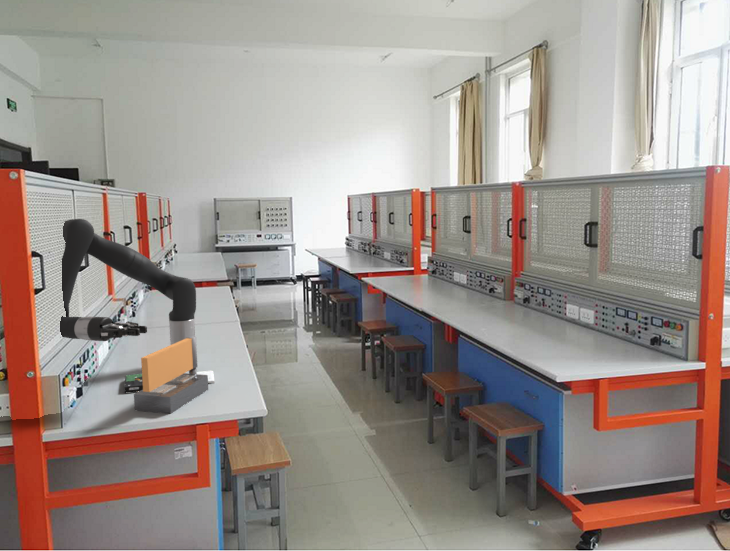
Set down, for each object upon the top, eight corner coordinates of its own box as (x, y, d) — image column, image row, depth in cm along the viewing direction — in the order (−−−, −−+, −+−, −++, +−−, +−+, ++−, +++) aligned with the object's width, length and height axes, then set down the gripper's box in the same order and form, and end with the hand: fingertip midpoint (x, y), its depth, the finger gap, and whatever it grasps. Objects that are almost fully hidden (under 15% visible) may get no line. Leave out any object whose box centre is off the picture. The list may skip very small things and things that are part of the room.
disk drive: (158, 391, 191) (156, 378, 204) (158, 383, 190) (156, 370, 204) (124, 395, 187) (125, 381, 200) (124, 387, 186) (124, 374, 200)
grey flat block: (175, 387, 192) (174, 371, 192) (208, 389, 190) (207, 373, 189) (134, 410, 171) (133, 392, 171) (170, 413, 168) (169, 395, 168)
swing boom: (190, 365, 193) (189, 336, 192) (199, 366, 192) (197, 336, 191) (141, 391, 167) (139, 357, 166) (151, 392, 166) (149, 358, 165)
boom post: (192, 386, 193) (191, 367, 193) (198, 386, 193) (197, 367, 192) (188, 388, 191) (187, 369, 190) (194, 388, 191) (193, 369, 190)
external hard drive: (213, 374, 208) (214, 385, 197) (189, 376, 206) (189, 387, 194) (213, 370, 208) (214, 380, 196) (189, 372, 206) (189, 382, 194)
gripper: (77, 321, 174) (127, 323, 170) (108, 312, 188) (155, 314, 184) (79, 345, 175) (129, 348, 171) (110, 335, 189) (156, 337, 185)
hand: (142, 330), depth 178 cm, fingers open, 3 cm apart
